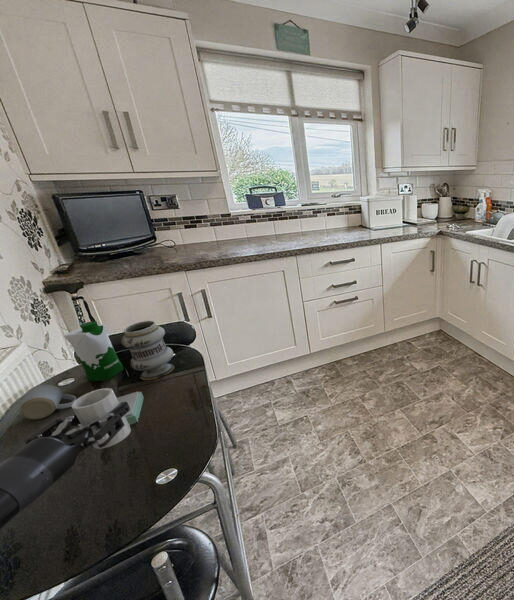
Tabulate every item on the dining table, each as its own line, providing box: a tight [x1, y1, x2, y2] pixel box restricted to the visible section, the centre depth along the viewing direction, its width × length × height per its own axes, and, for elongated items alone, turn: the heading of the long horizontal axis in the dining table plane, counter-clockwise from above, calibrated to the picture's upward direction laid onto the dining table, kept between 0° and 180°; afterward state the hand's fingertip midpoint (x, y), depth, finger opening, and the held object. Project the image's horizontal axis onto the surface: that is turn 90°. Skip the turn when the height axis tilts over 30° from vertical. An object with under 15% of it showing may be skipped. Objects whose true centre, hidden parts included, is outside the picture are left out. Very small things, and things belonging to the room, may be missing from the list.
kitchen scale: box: [78, 391, 145, 426], centre depth 91 cm, size 13×14×3 cm
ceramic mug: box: [19, 383, 77, 420], centre depth 97 cm, size 11×8×8 cm
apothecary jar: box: [120, 320, 175, 381], centre depth 111 cm, size 12×12×18 cm
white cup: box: [70, 387, 132, 450], centre depth 66 cm, size 6×6×10 cm
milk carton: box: [63, 320, 125, 382], centre depth 111 cm, size 9×9×20 cm
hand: (110, 406), depth 68 cm, fingers closed on white cup, 6 cm apart
